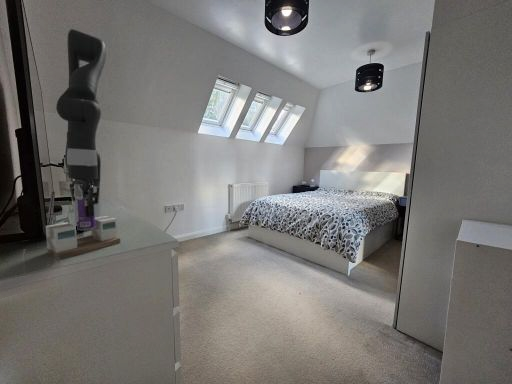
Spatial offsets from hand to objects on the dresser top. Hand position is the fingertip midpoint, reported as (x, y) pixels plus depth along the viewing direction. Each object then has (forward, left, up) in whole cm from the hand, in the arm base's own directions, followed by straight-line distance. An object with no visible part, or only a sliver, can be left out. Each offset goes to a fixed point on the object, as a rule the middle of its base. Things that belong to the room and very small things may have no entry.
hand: (85, 215), depth 71 cm
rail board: (0, 0, -11) cm, 11 cm away
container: (0, 0, -5) cm, 5 cm away
